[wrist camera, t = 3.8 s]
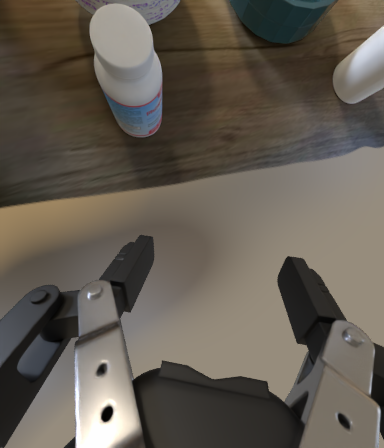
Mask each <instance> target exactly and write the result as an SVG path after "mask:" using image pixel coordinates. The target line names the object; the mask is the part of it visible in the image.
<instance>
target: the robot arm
mask: <svg viewBox="0 0 384 448" xmlns="http://www.w3.org/2000/svg"><path fill="white" fill-rule="evenodd" d="M153 261H154V243H153V237H151V236H144V235H140V236H139V237H138V239H137V240H136V241H135V243H134V242H130V243H128V244H127V245H125V246H124V247H123V248H122V249H121V250H120V252H119V254H117V256H116V257H115V259H114V260H113V261H112V263H111V264H110V265H109V267H108V268H107V269H106V271H105V272H104V273H103V275H102V276H101V277H100V279H99V280H96V281H93V282H90V283H89V284H87V285H85V286H84V287H83V288H82V289H81V290H77V291H67V292H60V291H59V289H58V287H56V286H54V285H45V286H41V287H38V288H36V289H34V290H32V291H30V292H29V293H28V294H26V295H25V296H24V297H23V298H22V299H21V300H20V301H19V302H18V303H17V304H16V305H15V306H14V307H13V308H12V309H11V310H10V311H9V312H8V313H7V314H6V315H5V316H4V317H3V318H2V319H1V320H0V448H4V447H5V445H6V444H7V442H8V440H9V439H10V437H11V435H12V434H13V432H14V431H15V429H16V427H17V426H18V424H19V423H20V421H21V419H22V418H23V416H24V414H25V413H26V411H27V409H28V408H29V406H30V404H31V403H32V401H33V400H34V398H35V396H36V395H37V393H38V392H39V390H40V388H41V387H42V385H43V383H44V382H45V380H46V378H47V377H48V375H49V374H50V372H51V370H52V368H53V367H54V365H55V364H56V362H57V361H58V359H59V357H60V356H61V354H62V352H63V351H64V349H65V347H66V346H67V344H68V343H69V341H70V339H71V338H73V337H79V339H78V341H76V342H75V349H74V350H75V351H74V354H75V437H74V438H73V439H72V440H71V441H70V442H69V443H68V444H67V445H66V446H65V447H64V448H379V432H380V433H381V435H382V437H383V439H384V347H382V346H380V345H377V344H375V343H373V342H372V341H371V339H370V338H369V336H368V335H367V334H366V333H365V332H364V331H363V330H361V329H360V328H358V327H357V326H356V325H354V324H352V323H350V322H348V321H347V320H346V318H345V317H344V315H343V313H342V312H341V310H340V308H339V307H338V305H337V303H336V302H335V300H334V298H333V297H332V295H331V294H330V293H329V290H328V288H327V287H326V286H325V284H324V282H323V280H322V279H321V277H320V276H319V275H318V274H317V273H316V272H315V271H314V270H313V269H309V268H308V266H307V264H306V262H305V260H304V259H302V258H296V257H289V256H288V257H287V258H286V259H285V262H284V264H283V266H282V268H281V270H280V272H279V275H278V287H279V289H280V293H281V296H282V299H283V302H284V305H285V308H286V311H287V313H288V317H289V320H290V323H291V326H292V329H293V332H294V336H295V338H296V342H297V343H298V344H303V345H307V347H308V350H309V351H308V352H307V354H306V356H305V358H304V361H303V363H302V366H301V368H300V371H299V373H298V376H297V378H296V381H295V383H294V386H293V388H292V390H291V391H290V393H289V394H288V396H287V398H286V399H285V401H284V402H283V401H282V400H281V399H280V398H279V397H277V396H276V395H274V394H273V393H271V392H270V391H269V389H268V383H267V382H266V381H261V380H257V379H252V378H247V377H242V376H239V377H231V378H223V379H211V378H209V377H207V376H205V375H203V374H202V373H200V372H198V371H196V370H194V369H193V368H191V367H189V366H187V365H182V364H177V363H172V362H167V361H162V364H161V368H157V369H153V370H149V371H147V372H145V373H143V374H141V375H140V376H138V377H136V378H135V379H134V378H133V373H132V369H131V365H130V361H129V356H128V352H127V348H126V343H125V339H124V334H123V330H122V325H121V321H120V318H121V316H122V314H123V312H124V311H125V312H131V310H132V308H133V306H134V303H135V302H136V299H137V297H138V295H139V293H140V291H141V289H142V286H143V284H144V282H145V280H146V278H147V275H148V273H149V271H150V269H151V267H152V265H153Z"/></svg>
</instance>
